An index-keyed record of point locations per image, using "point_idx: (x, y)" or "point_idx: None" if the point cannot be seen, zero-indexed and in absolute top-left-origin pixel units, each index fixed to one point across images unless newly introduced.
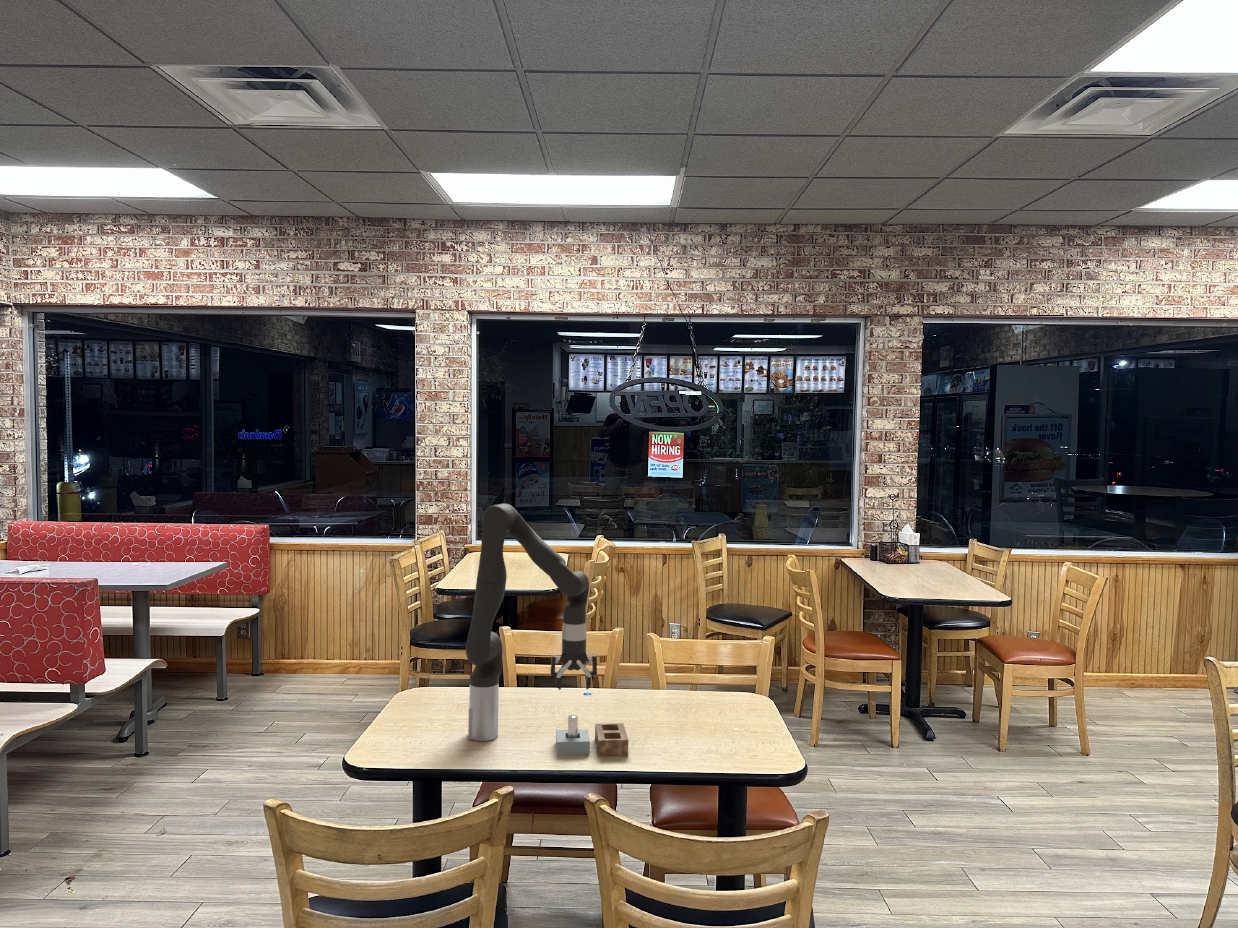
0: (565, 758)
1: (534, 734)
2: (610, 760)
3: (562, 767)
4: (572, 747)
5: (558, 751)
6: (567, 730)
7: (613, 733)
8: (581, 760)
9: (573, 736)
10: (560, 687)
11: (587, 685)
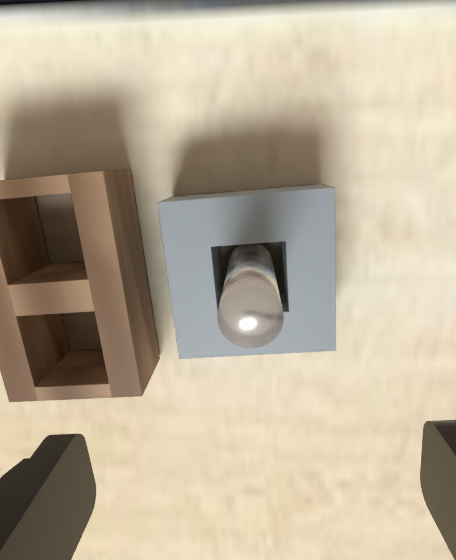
0: (280, 152)
1: (413, 409)
2: (75, 135)
3: (294, 38)
4: (249, 192)
5: (316, 185)
6: (278, 343)
7: (41, 281)
8: (205, 130)
9: (246, 257)
10: (448, 437)
11: (39, 465)
